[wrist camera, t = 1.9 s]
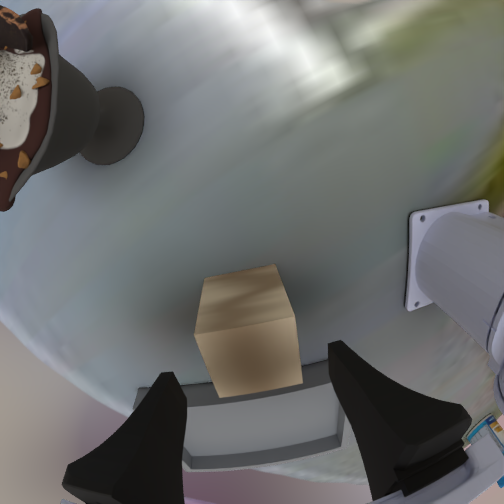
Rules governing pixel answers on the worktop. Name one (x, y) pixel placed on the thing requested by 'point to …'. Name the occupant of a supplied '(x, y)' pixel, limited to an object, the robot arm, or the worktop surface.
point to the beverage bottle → (496, 432)
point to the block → (248, 332)
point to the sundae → (54, 107)
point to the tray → (262, 424)
